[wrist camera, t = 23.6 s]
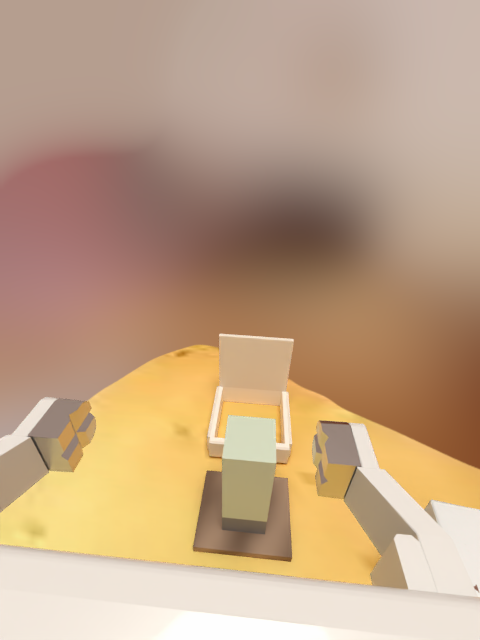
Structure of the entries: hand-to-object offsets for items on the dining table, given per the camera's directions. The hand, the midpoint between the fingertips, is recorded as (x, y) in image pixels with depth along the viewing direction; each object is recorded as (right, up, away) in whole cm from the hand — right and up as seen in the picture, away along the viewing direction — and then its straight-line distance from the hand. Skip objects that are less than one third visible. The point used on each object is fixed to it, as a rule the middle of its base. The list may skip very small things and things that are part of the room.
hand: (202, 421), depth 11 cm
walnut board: (+2, -21, +27) cm, 34 cm away
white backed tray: (+3, -14, +38) cm, 41 cm away
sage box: (+2, -20, +27) cm, 33 cm away
